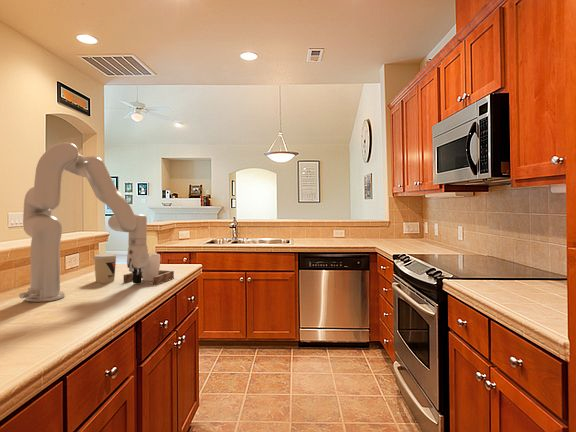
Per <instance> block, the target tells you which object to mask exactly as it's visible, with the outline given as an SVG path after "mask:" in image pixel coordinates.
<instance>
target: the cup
mask: <svg viewBox="0 0 576 432" xmlns="http://www.w3.org/2000/svg"><path fill="white" fill-rule="evenodd" d="M161 261H162V260H161V254H160V253H154V252H153V253H148V265H147V266H146V267H145V268H144V269H143V270H142V281H144V282H153V277H155V276H158V274H159V270H160V266H161Z"/></svg>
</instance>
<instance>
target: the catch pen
mask: <svg viewBox="0 0 576 432" xmlns="http://www.w3.org/2000/svg"><path fill="white" fill-rule="evenodd" d="M174 273H175V271H174V270H163V269H159V274H158V276H155V277H153V281H152V284H153V286H157V285H159V283H160V284H163V283H164V282H167V280H168V281H170V280H172V278H173V279H174V278H175V277H174V276H175V275H174ZM141 279H143V277H142V274H141ZM169 279H170V280H169ZM129 282H133V274H132V272H130V273H126V274H123V283H125V284H126V283H129Z"/></svg>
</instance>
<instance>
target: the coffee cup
mask: <svg viewBox="0 0 576 432" xmlns="http://www.w3.org/2000/svg"><path fill="white" fill-rule="evenodd" d="M93 259H94V274H95V276H94V277H95V282H96V283H97V284H99V283H100V284H101V283H102V284H103V283H104V284H105V283H113V282H115V277H116V275H115V274H116V265H117V264H116V262H117V255H116V254H114V253H102V254H95V255H94V257H93Z"/></svg>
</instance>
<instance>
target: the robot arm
mask: <svg viewBox="0 0 576 432" xmlns="http://www.w3.org/2000/svg"><path fill="white" fill-rule="evenodd" d="M64 171H66V172H69V173H71V174H74V175H76V176H79V177H81V178H82V177H83V178H86V179H87V182H88V183H89V185H90V188H91V189H92V191H93V193H94V195H95V197H96V198H97V199H98V200H99V201H100V202H101V203H103V204H105V205H106V206H107V207H108V208H109V209H110V210H111V212H112V215H111V216H110V217H109V218H108V222H107V224H108V227H109V228H110V229H111V230H113V231H116V232H120V233H121V232H122V233H128V242H127V243H128V247H127V253H126V254H127V255H126V265H127V266H126V267H127V268H128V271H129V272H130V273H132V274H133V281H132V283H133V284H137V285H140V284H141V283H142V278H141V274H142V270H143V269H144V268H145V267H146V266H147V265H148V254H149V250H148V245H147V233H148V232H147V228H148V227H147V220H148V219H147V216H146V215H145V214H140V213H139V214H137V213H134V210H133V209H132V206H131V205H130V204H129V202H128V200H127V199H126V198H125V197H124V196H123V195H122V193H121V192H120V191H119V190H118V189H117V187H116V185H115V183H114V181H113V178H112V177H111V175H110V171H108V169H107V166H106V164H105V162H104V161H103V159H102V158H101V157H98V156H95V155H89V156H86V155H81V154H80V150H79V148H78V146H77V145H76V144H74V143H72V142H66V141H64V142H60V143H59V142H58V143H55V144H53V145H52V144H51V145H50V146H48V148H47V149H46V151H45V152H44V153H43V154H42V155H41V156H40V158H39V160H38V161H37V164H36V167H35V175H34V184H33V187H30V188H29V189H28V190H27V191H26V193H25V196H24V201H23V214H22V215H23V216H22V218H23V219H22V225H23V226H22V227H23V228H22V229H23V230H24V232H25V234H26V235H28V236H29V237H30V238H31V242H30V251H29V255H30V256H29V257H30V287H29V288H27V291H26V292H21V293H19V296H18V297H19V298H20V299H25V301H27V302H30V303H42V302H52V301H57V300H60V299H63V298H65V292H62V291H61V242H62V241H61V239H62V234H63V228H62V224H61V222H60V220H59V219H58V218H57V217H55V216H54V215H52V211H54V210H55V209H57V208H58V207H59V206H60V203H61V189H62V177H63V173H64Z"/></svg>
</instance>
